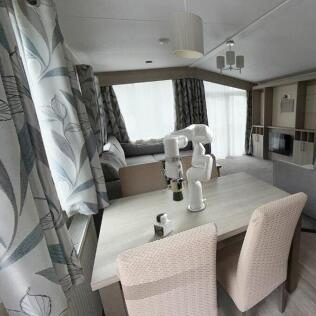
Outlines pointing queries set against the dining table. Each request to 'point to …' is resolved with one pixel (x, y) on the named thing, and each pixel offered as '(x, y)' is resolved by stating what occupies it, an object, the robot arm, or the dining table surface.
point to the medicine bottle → (162, 225)
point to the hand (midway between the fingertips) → (175, 187)
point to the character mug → (176, 190)
